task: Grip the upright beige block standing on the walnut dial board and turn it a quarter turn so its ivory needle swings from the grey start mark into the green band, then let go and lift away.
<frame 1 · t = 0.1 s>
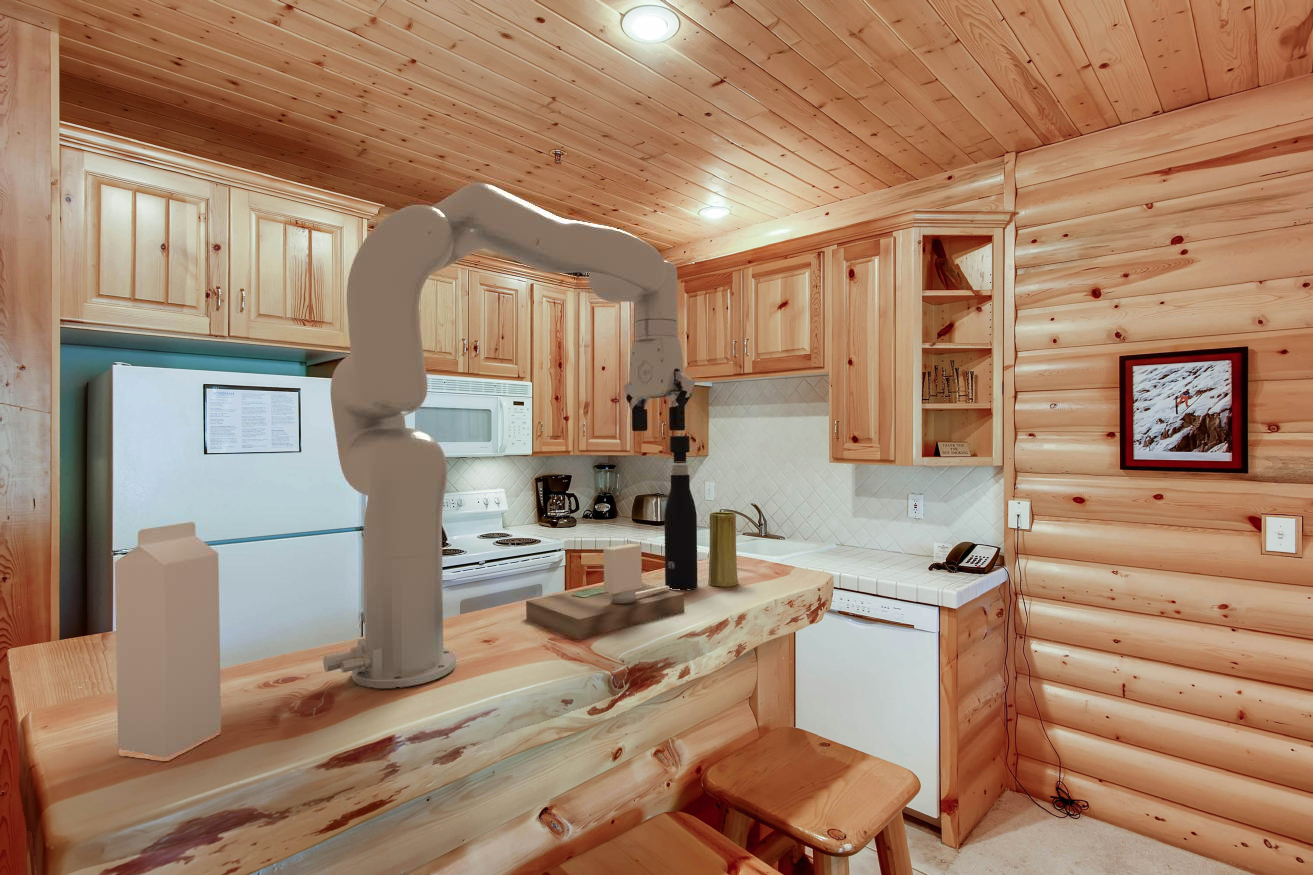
hand: (657, 430, 115), 31 cm above the worktop, tool pointing down, fingers open, 9 cm apart
vase: (723, 584, 133), on the worktop
milk: (171, 747, 66), on the worktop
black bottle: (681, 587, 130), on the worktop
dial board: (606, 614, 111), on the worktop
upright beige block: (639, 570, 110), point 8 cm above the worktop, hinge at 0.0°
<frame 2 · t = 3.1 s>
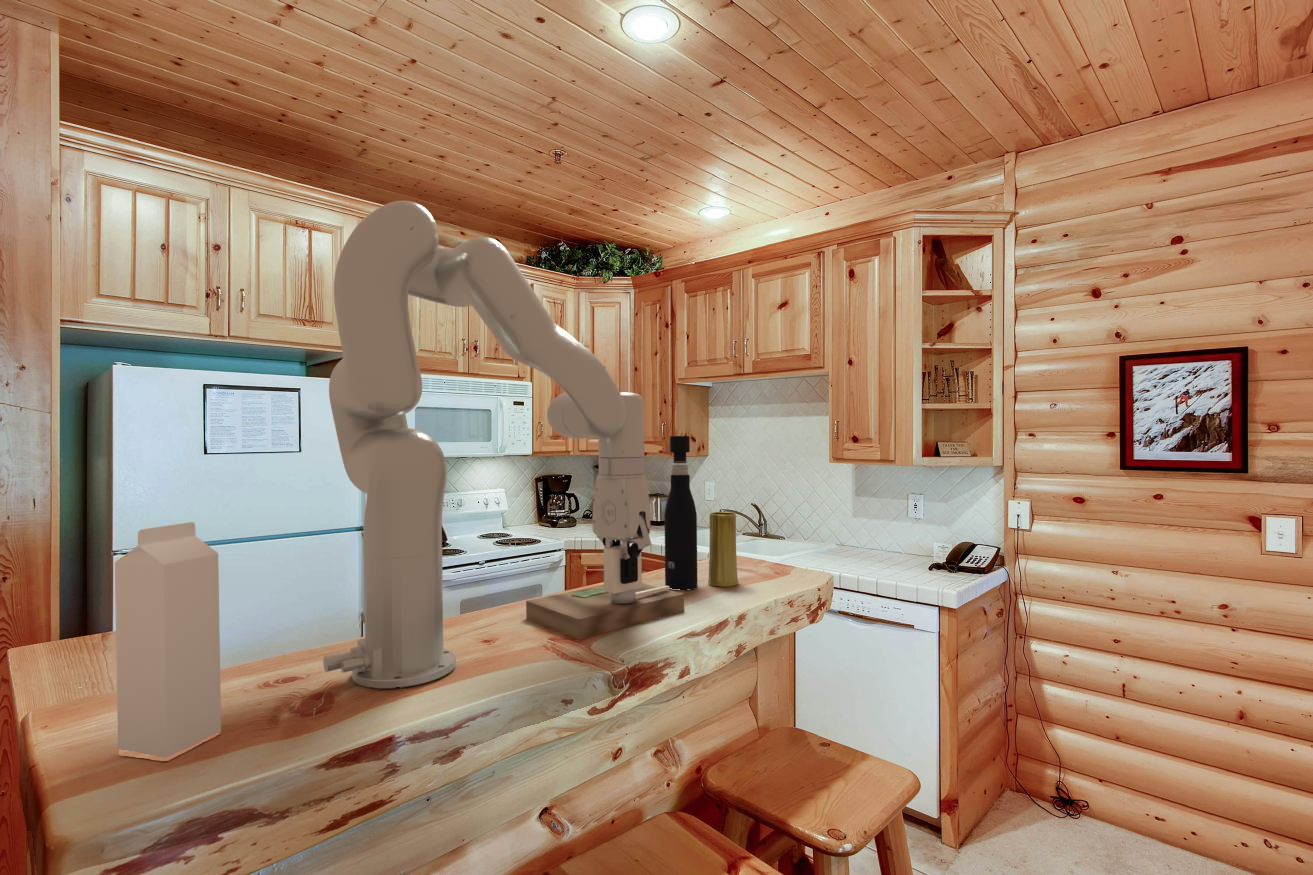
hand: (623, 579, 107), 7 cm above the worktop, tool pointing down, fingers closed on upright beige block, 2 cm apart
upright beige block: (639, 570, 110), point 8 cm above the worktop, hinge at 0.0°, touching gripper
everything else where it was.
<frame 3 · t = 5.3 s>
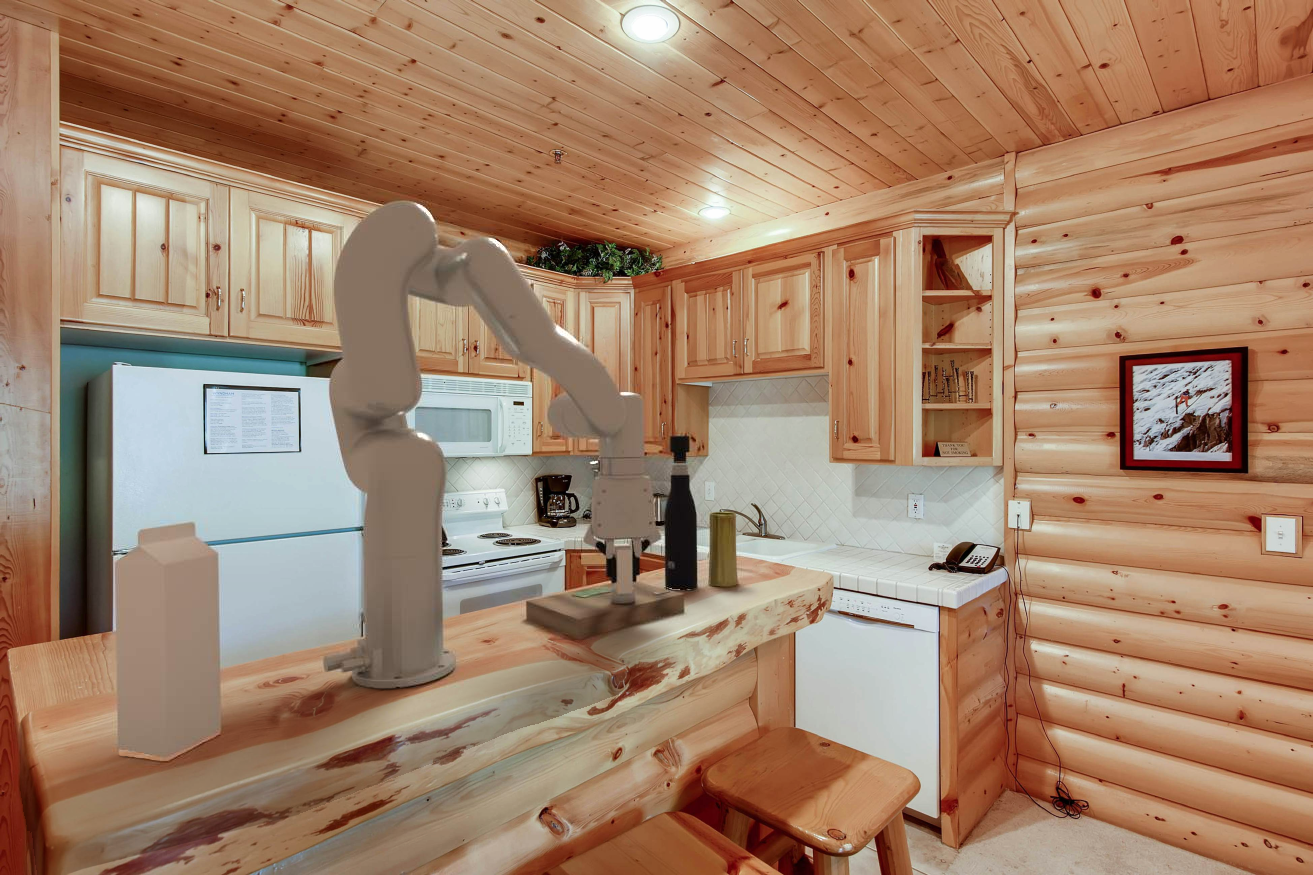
hand: (623, 579, 107), 7 cm above the worktop, tool pointing down, fingers closed on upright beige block, 2 cm apart
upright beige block: (620, 569, 111), point 8 cm above the worktop, hinge at 56.9°, touching gripper
everything else where it was.
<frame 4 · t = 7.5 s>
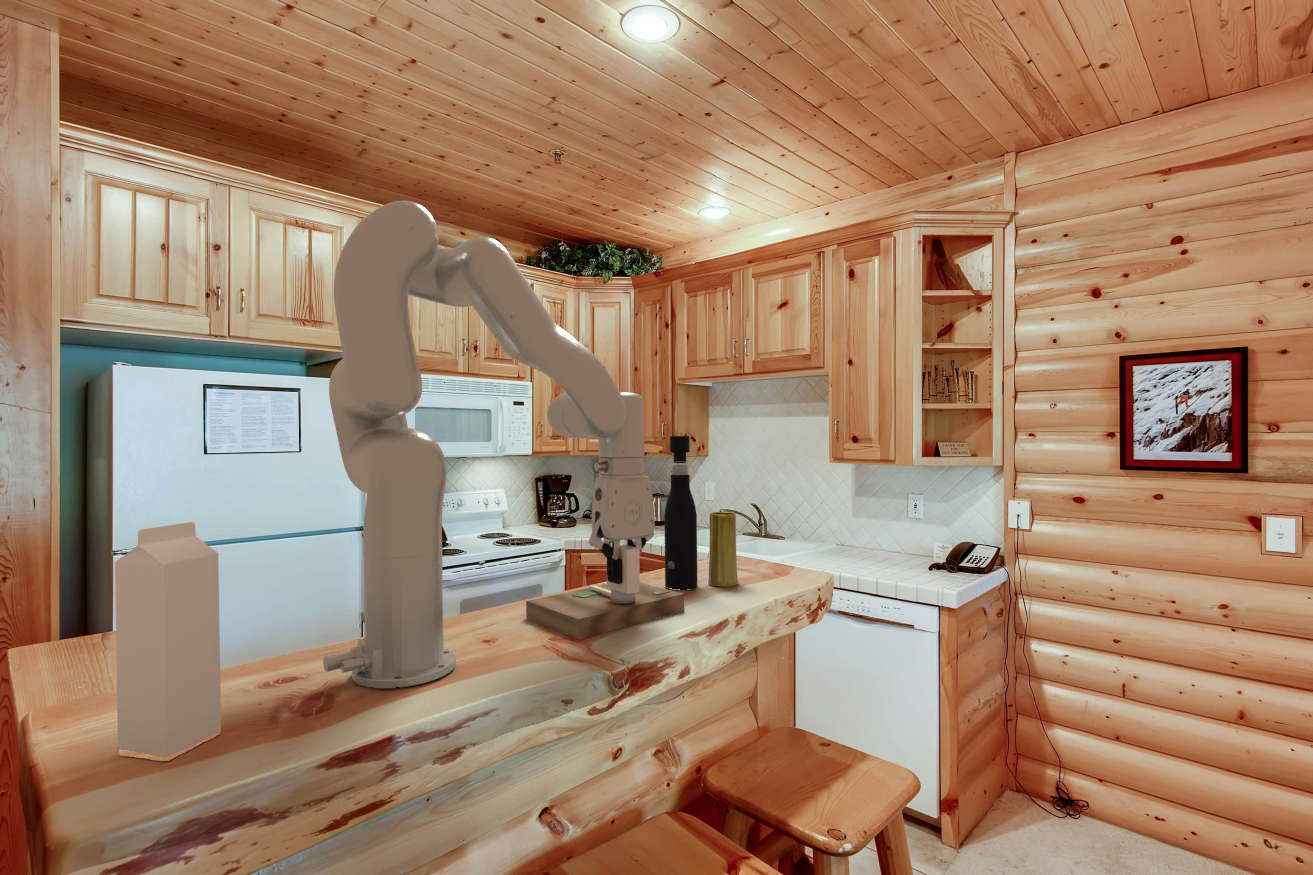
hand: (623, 579, 107), 7 cm above the worktop, tool pointing down, fingers closed on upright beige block, 2 cm apart
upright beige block: (611, 570, 110), point 8 cm above the worktop, hinge at 85.2°, touching gripper
everything else where it was.
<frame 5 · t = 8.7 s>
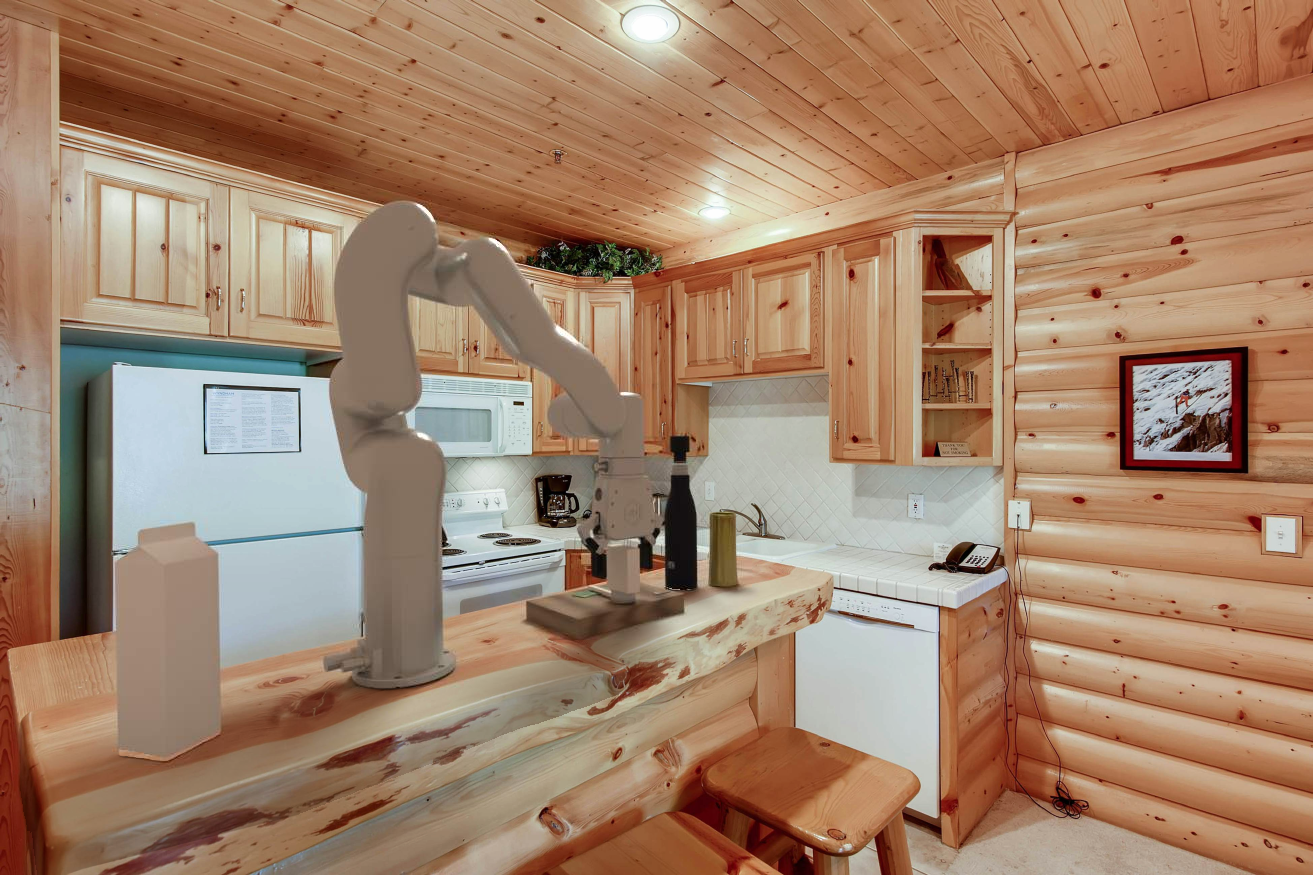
hand: (622, 572, 107), 8 cm above the worktop, tool pointing down, fingers open, 9 cm apart
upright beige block: (610, 570, 110), point 8 cm above the worktop, hinge at 86.1°
everything else where it was.
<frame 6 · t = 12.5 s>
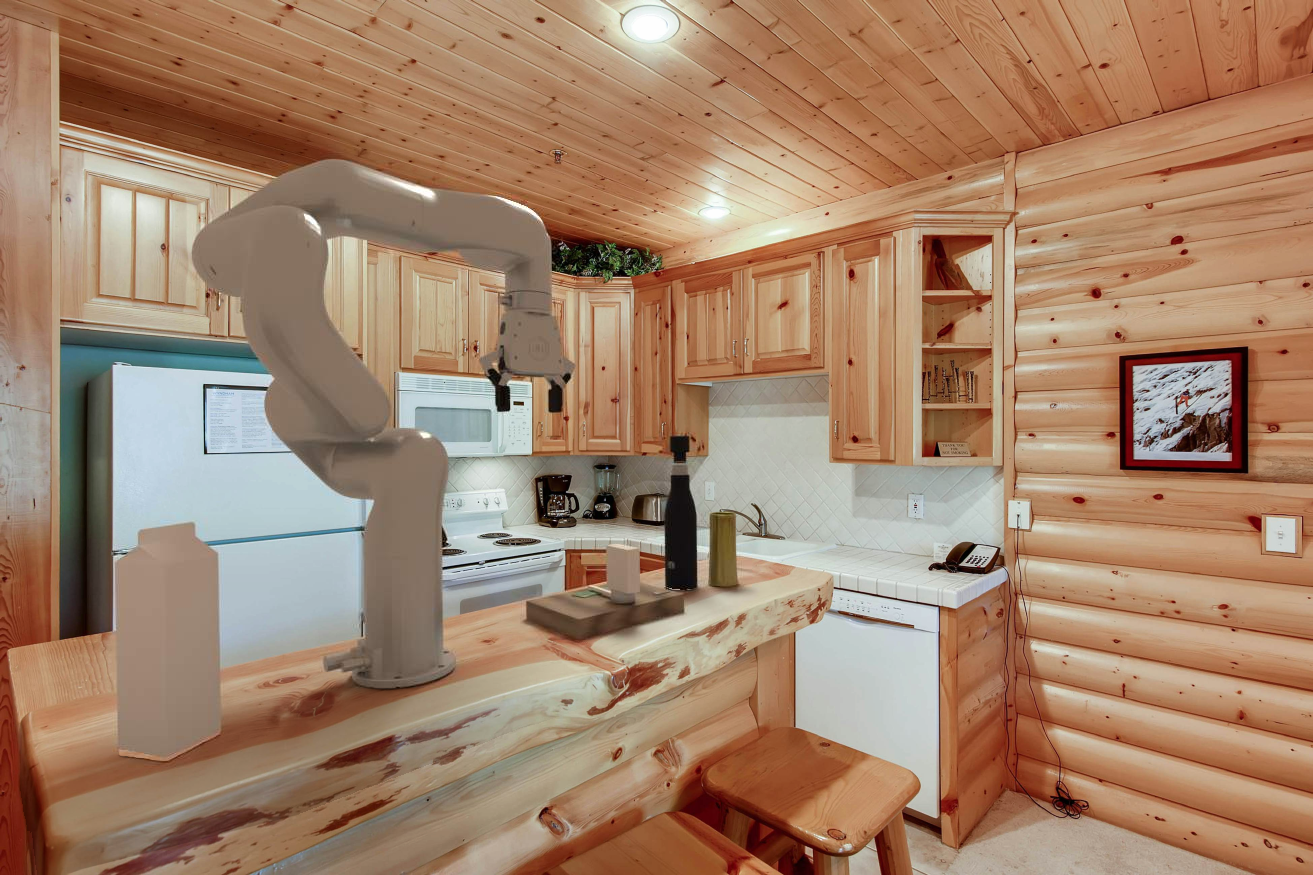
hand: (530, 412, 107), 34 cm above the worktop, tool pointing down, fingers open, 9 cm apart
nothing on the worktop moved.
at the end: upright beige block at +86° (first picture: +0°); the gripper is holding nothing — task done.
